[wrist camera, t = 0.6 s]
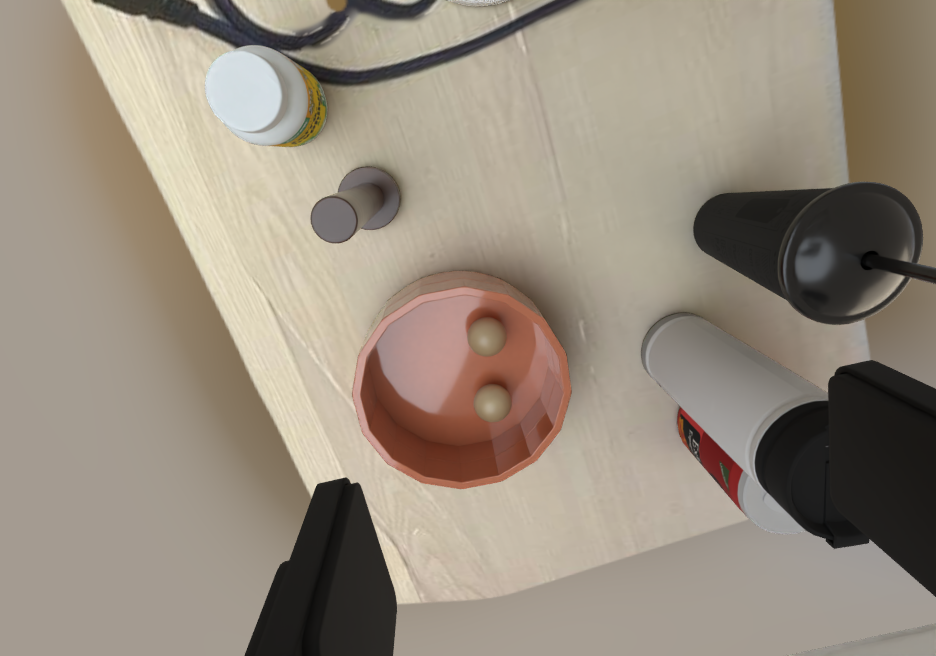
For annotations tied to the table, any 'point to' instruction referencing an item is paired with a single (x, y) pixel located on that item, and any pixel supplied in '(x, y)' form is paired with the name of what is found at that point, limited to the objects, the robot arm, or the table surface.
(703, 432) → the canned food
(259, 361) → the table surface
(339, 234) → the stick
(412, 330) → the bowl
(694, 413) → the travel mug
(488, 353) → the bead
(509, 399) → the bead
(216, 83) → the supplement bottle
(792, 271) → the drinking cup
